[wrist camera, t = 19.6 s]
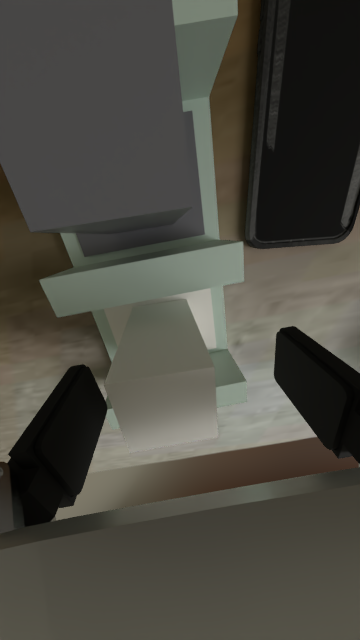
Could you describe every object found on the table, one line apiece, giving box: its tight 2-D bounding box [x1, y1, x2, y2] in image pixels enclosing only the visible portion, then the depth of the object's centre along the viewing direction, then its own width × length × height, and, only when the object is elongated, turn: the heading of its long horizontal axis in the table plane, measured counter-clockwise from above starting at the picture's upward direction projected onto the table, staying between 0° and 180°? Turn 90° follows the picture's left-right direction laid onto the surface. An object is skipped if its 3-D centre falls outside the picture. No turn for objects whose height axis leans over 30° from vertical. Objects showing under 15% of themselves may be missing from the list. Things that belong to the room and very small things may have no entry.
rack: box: [39, 0, 247, 429], centre depth 12 cm, size 10×20×5 cm, turn 10°
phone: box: [245, 0, 360, 249], centre depth 11 cm, size 8×1×15 cm
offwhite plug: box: [104, 299, 218, 453], centre depth 11 cm, size 4×4×8 cm
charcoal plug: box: [0, 0, 193, 234], centre depth 7 cm, size 4×4×8 cm
